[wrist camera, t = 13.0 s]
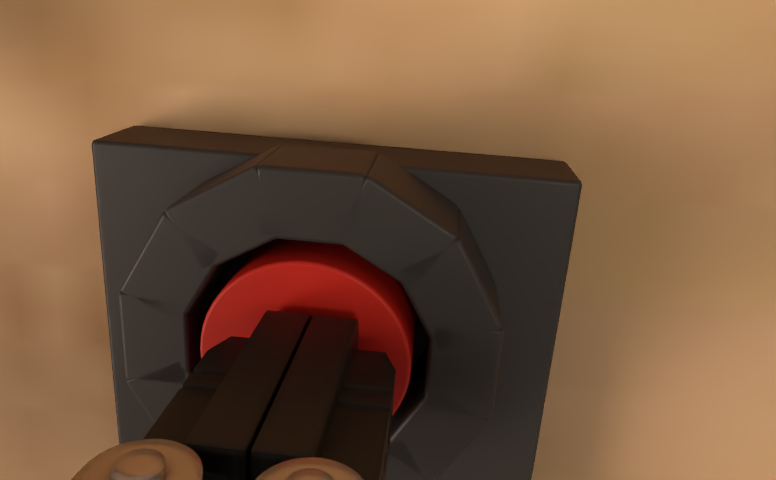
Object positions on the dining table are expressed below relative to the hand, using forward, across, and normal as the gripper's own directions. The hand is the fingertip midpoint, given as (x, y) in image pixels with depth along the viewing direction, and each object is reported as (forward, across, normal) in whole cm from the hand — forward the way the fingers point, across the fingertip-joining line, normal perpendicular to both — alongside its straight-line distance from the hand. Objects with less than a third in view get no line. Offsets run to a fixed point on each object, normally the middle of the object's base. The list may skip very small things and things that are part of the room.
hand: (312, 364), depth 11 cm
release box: (+4, 0, +2) cm, 4 cm away
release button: (+2, 0, 0) cm, 2 cm away
